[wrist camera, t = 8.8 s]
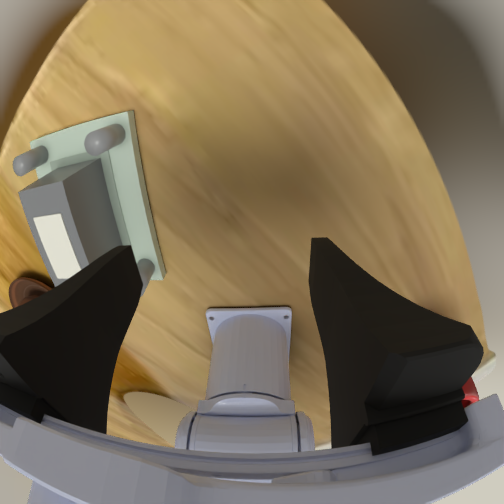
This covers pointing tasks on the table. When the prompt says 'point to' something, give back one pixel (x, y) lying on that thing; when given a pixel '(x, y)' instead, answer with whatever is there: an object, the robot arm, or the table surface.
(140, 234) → the tray
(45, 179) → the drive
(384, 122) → the table surface
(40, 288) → the cup and saucer
